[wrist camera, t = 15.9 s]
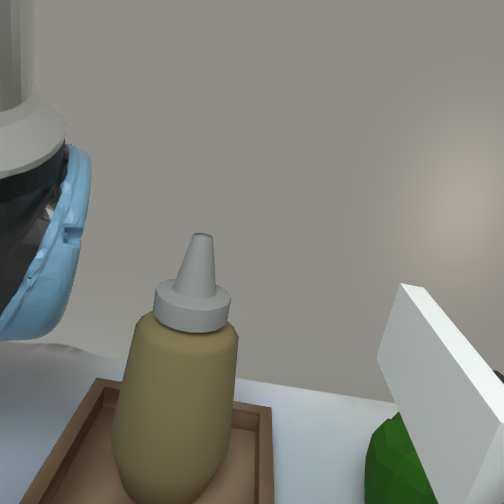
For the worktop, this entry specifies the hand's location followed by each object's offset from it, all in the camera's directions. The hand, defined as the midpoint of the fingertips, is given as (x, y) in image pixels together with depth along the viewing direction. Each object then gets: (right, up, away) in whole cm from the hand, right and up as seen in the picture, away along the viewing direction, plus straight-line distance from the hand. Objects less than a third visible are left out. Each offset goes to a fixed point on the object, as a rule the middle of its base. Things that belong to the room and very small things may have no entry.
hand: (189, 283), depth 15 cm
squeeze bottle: (-4, -15, +18) cm, 24 cm away
